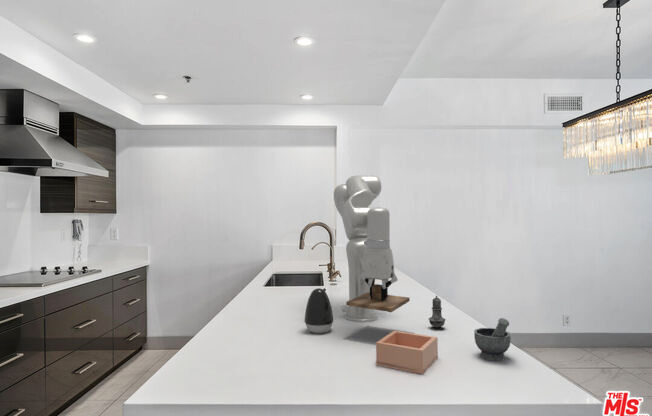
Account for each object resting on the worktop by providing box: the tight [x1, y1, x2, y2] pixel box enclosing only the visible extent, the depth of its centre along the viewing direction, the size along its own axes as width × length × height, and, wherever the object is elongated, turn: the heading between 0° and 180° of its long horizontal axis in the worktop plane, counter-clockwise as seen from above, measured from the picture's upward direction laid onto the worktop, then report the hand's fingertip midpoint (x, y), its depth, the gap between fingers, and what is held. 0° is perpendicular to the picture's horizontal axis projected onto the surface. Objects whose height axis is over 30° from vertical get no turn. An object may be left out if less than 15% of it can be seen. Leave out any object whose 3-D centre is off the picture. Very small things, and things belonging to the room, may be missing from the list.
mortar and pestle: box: [473, 317, 512, 362], centre depth 113 cm, size 11×9×12 cm
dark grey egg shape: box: [304, 288, 334, 334], centre depth 140 cm, size 10×10×15 cm
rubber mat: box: [343, 325, 415, 346], centre depth 133 cm, size 18×18×1 cm
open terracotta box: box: [375, 330, 439, 375], centre depth 110 cm, size 13×13×6 cm
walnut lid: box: [345, 283, 411, 313], centre depth 134 cm, size 16×16×6 cm
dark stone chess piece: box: [428, 295, 446, 331], centre depth 141 cm, size 6×6×12 cm
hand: (378, 298), depth 134 cm, fingers closed on walnut lid, 3 cm apart
